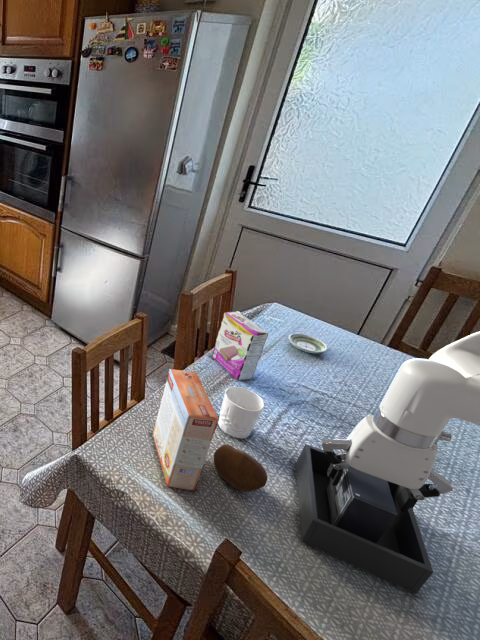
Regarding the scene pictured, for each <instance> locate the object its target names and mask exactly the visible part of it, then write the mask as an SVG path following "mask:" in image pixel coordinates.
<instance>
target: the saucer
mask: <svg viewBox="0 0 480 640" xmlns="http://www.w3.org/2000/svg"><path fill="white" fill-rule="evenodd" d="M288 341H289V342H290V343H291V345H292V346H293V347H294V348H296V349H298V350H300V351H301V352H302V351H303V352H304V353H310V354H322V353H325V352H327V351H328V346H327V344H326V342H324V341H322V340H321V339H319V338H317V337H315V336H312V335H309V334H305V333H300V332H299V333H295V332H294V333H290V334H289V335H288Z"/></svg>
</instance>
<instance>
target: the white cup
mask: <svg viewBox="0 0 480 640" xmlns="http://www.w3.org/2000/svg"><path fill="white" fill-rule="evenodd" d="M221 402H222V403H221V406H220V411H219V417H218V419H219V421H218V424H217V425H218V427H219V428H220V429H221V430H222V431H223V433H225V434H227V435H229V436H230V437H232V438H236V439H247V438H249V437H250V435H251V433H252V431H253V429H255V426H256V424H257V422H258V420H259V418H260V417H261V414H262V412H263V410H264V407H265V402H264V400H263V399H262V397H260V395H258V394H257V393H256V392H254V391H252V390H250V389H248V388H246V387H243V386H233V385H232V386H228V387H227V388H226V389H225V390H224V394H223V399H222V401H221Z"/></svg>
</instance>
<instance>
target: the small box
mask: <svg viewBox="0 0 480 640" xmlns="http://www.w3.org/2000/svg"><path fill="white" fill-rule="evenodd" d="M342 461H346V460H342ZM325 491H326V499H327V507H328V514H329V521H330V524H331V525H334V526H336V527H338V528H340V529H343V530H345V531H347V532H350V533H352V534H354V535H357V536H359V537H361V538H364V539H366V540H368V541H371V542H373V543H375V544H376V543H377V542H378V540H379V539H380V537H381V536H382V535H383V533H384V532H385V530H386V529H387V528H388V526H389V525H390V523H391V522H392V521H393V519H394V518H395V516H396V515H397V512H396V509H395V505H394V502H393V499H392V495H391V492H390V489H389V485H388V482H387V481H386V480H384V479H381V478H378V477H375V476H373V475H370V474H367V473H365V472H362V471H359V470H357V469H355V468H353V467H352V468H347V469H343V475H342V477H341V479H340V481H339V483H338V485H337V486H333V485H331V481H330V483H329V484H328V486H327V488H326V489H325Z"/></svg>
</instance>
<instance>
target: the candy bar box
mask: <svg viewBox="0 0 480 640" xmlns="http://www.w3.org/2000/svg"><path fill="white" fill-rule="evenodd" d="M268 336H269V332H267V330H265V329H264V328H262V327H261V326H260V325H258V324H257V323H255V322H254V321H253V320H251V319H250V318H249V317H247V316H246V315H245V314H243V313H242V312H240V311H239V310H237V311H236V310H235V311H227V312H224V313H223V317H222V320H221V323H220V326H219V330H218V333H217V337H216V340H215V343H214V347H213V350H212V352H211V353H212V354H211V357H212V358H213V359H214V360H215V361H216V362H217V363H218V364H220V365H221V366H222V367H223V368H224V369H225V370H226V371H227V372H228V373H229V374H230V375H232V377H234V378H235V379H236V380H237V381H243V380H251V379H253V377H254V375H255V372H256V370H257V367H258V364H259V361H260V358H261V355H262V352H263V349H264V346H265V344H266V342H267V338H268Z"/></svg>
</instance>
